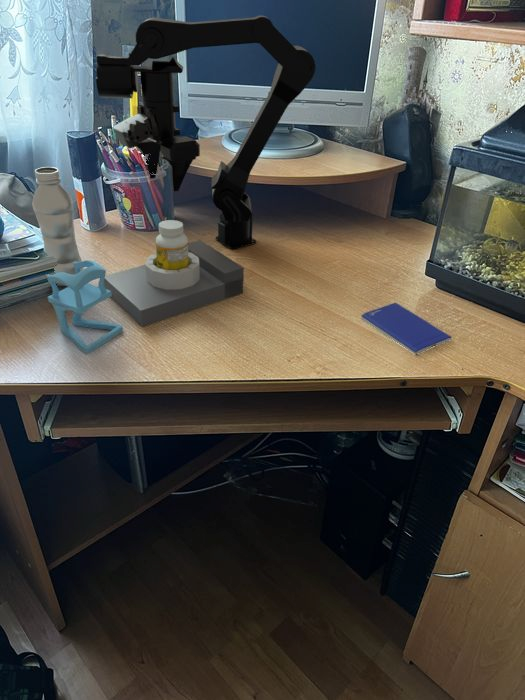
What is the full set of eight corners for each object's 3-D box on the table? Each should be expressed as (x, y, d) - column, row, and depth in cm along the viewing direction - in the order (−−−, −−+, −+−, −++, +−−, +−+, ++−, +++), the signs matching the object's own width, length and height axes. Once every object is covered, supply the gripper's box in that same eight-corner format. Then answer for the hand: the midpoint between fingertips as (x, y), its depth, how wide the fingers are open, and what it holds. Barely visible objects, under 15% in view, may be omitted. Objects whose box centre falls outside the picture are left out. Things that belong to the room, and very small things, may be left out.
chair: (85, 315, 90) (73, 247, 83) (124, 330, 86) (114, 261, 79) (48, 337, 84) (32, 266, 77) (88, 354, 81) (74, 281, 74)
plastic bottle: (74, 270, 102) (55, 161, 91) (92, 283, 99) (75, 171, 87) (41, 280, 99) (17, 168, 87) (59, 294, 95) (37, 179, 83)
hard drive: (361, 313, 91) (416, 350, 83) (396, 301, 95) (452, 335, 87) (360, 321, 92) (414, 358, 84) (394, 309, 96) (450, 343, 88)
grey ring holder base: (200, 263, 107) (200, 235, 103) (243, 292, 98) (243, 262, 94) (104, 291, 96) (100, 260, 93) (142, 326, 87) (138, 293, 84)
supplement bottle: (191, 282, 94) (190, 229, 88) (160, 285, 92) (156, 231, 87) (185, 268, 98) (184, 217, 93) (155, 271, 97) (152, 219, 91)
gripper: (94, 93, 101) (105, 178, 110) (142, 113, 89) (150, 206, 98) (148, 89, 107) (154, 169, 116) (200, 107, 95) (202, 195, 104)
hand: (163, 184), depth 108 cm, fingers open, 9 cm apart
